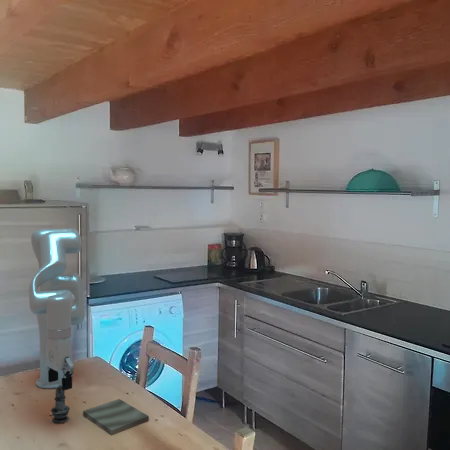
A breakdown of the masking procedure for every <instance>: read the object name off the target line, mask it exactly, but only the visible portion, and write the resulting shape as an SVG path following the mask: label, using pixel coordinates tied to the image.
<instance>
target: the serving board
mask: <svg viewBox="0 0 450 450" xmlns="http://www.w3.org/2000/svg"><path fill="white" fill-rule="evenodd" d="M82 416H83V417H85V418H86V419H88V421H91V422H92V423H93V424H95V425H96V426H97V427H99V428H101V429H102V430H103V431H105V432H107V434H109V435H111V436H113V435H115V434H118V433H120V432H123V431H126V430H128V429H131V428H133V427H134V428H135V427H136V426H138V425H142V424H144V423H146V422H148V421H149V420H150V416H149V415H148V414H146V413H144V412H143V411H141V410H139V409H137V408H136V407H134V406H133V405H130V404H129V403H128V402H126V401H123V400H122V399H121V398H118V399H115V400H112V401H109V402H105V403H102V404H100V405H96V406H94V407H91V408H88V409H85V410H83V411H82Z"/></svg>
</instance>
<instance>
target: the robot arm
mask: <svg viewBox="0 0 450 450" xmlns="http://www.w3.org/2000/svg"><path fill="white" fill-rule="evenodd" d="M30 240H31V241H30V242H31V248H32V250H33V253H34V255H35V258H36V259H37V264H38V270H37V271H36V272H35V273H34V275H33V277H32V278H31V279H30V283H29V287H28V300H29V301H28V302H29V309H30V311H31V312H32V314H34V315H36V321H37V325H38V332H39V333H38V334H39V374H40V377H39V378H38V379H36V380H35V385H36V386H37V387H39V388H41V389H56V388H58V387H59V385H61V387H62V390H63V391H64V390H65V391H67V390H71V389H72V388H73V375H74V369H75V366H74V363H73V351H72V349H73V348H72V342H71V338H72V326H79V325H81V324H82V323H83V322H84V320H85V304H84V302H85V299H84V286H83V284H84V283H83V280H82V277H81V276H80V274H78V273H74V272H71V273H65V272H66V270H67V269H68V268H67V267H68V264H67V256H66V255H68V254H69V255H70V254H71V255H72V254H78V253H80V252H81V250H82V245H83V241H82V237H81V234H80V232H79V231H78V230H77V229H76V228H42V229H37V230H34V231H33V232H32V233H31V236H30ZM38 290H39V291H38Z"/></svg>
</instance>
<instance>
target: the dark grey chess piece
mask: <svg viewBox="0 0 450 450" xmlns="http://www.w3.org/2000/svg"><path fill="white" fill-rule="evenodd" d="M65 391H66V390H64V391H63V390H62V387H61V385H59V387H57V388H55V397H54V401H55V402H54V403H55V405H54V407H52V408H51V409H50V412H51V414H52V417H53V418H52V420H51V423H53V424H55V425H59V424H65V423H67V422H68V421H69V420H70V418H69V416H68V415H69V411H70V407H69V406H68V405H66V398H67V397H66V395H65Z"/></svg>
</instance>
